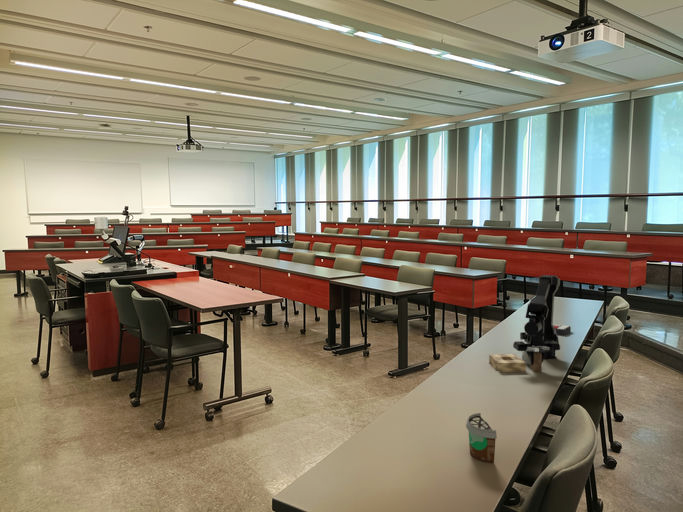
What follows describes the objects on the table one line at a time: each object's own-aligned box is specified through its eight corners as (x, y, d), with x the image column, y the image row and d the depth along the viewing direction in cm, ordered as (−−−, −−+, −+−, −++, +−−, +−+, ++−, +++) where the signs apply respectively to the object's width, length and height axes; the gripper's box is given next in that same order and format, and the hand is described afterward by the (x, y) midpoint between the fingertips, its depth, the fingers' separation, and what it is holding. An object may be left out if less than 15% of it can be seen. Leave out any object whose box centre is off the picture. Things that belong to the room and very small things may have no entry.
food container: (459, 444, 140) (460, 413, 139) (479, 443, 141) (479, 412, 140) (474, 466, 128) (475, 432, 127) (496, 465, 128) (496, 431, 128)
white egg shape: (531, 360, 217) (531, 346, 216) (536, 364, 212) (537, 349, 211) (519, 361, 217) (520, 346, 216) (524, 365, 211) (525, 350, 211)
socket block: (514, 362, 215) (514, 354, 215) (525, 371, 203) (525, 362, 203) (489, 363, 215) (489, 354, 214) (498, 371, 203) (499, 363, 202)
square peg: (537, 368, 206) (538, 351, 205) (541, 371, 203) (541, 353, 202) (530, 369, 206) (530, 351, 205) (533, 371, 203) (534, 353, 202)
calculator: (544, 322, 277) (570, 325, 267) (544, 329, 278) (570, 332, 267) (537, 325, 270) (564, 328, 259) (537, 332, 270) (564, 336, 259)
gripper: (548, 325, 211) (547, 358, 212) (508, 326, 210) (507, 359, 212) (561, 331, 200) (560, 366, 201) (518, 332, 199) (518, 367, 201)
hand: (535, 364), depth 204 cm, fingers closed on square peg, 3 cm apart
